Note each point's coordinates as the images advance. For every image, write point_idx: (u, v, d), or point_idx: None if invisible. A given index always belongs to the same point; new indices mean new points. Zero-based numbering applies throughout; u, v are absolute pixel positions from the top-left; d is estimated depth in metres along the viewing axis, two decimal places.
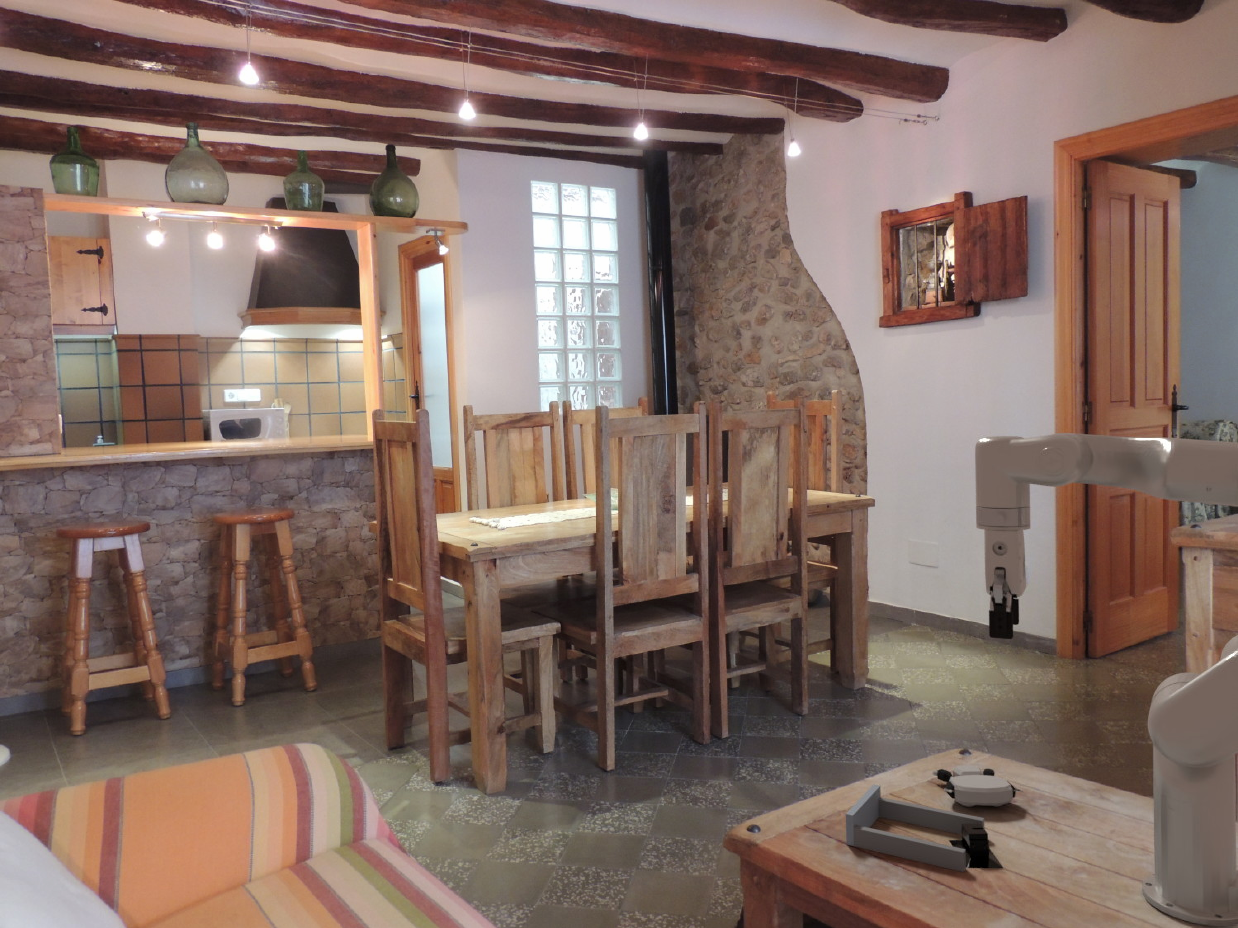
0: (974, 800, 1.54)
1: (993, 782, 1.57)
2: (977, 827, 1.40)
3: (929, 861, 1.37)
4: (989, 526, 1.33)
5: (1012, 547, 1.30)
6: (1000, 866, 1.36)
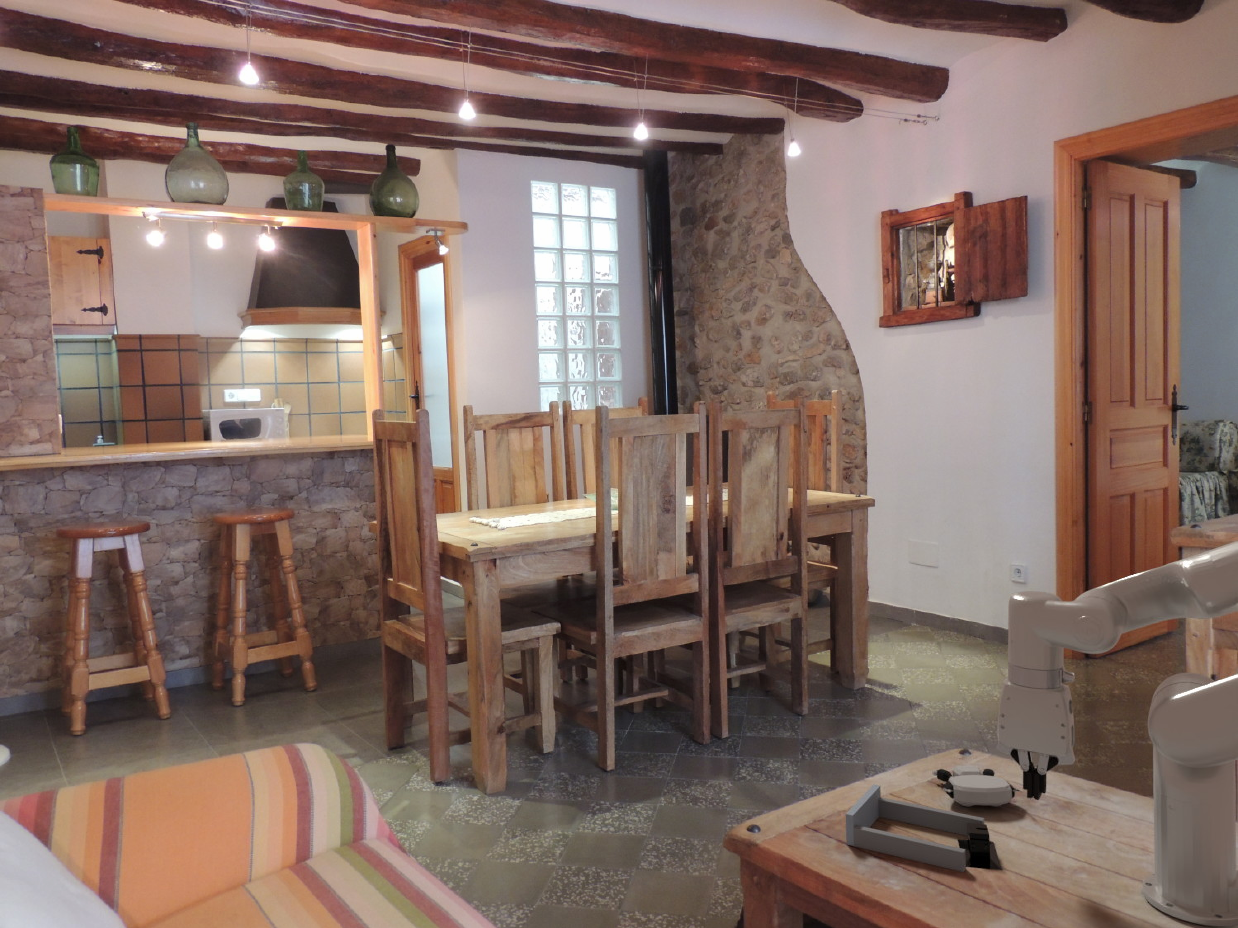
0: (973, 800, 1.54)
1: (992, 782, 1.57)
2: (981, 827, 1.40)
3: (929, 861, 1.37)
4: (1058, 687, 1.31)
5: (1071, 702, 1.33)
6: (999, 867, 1.35)
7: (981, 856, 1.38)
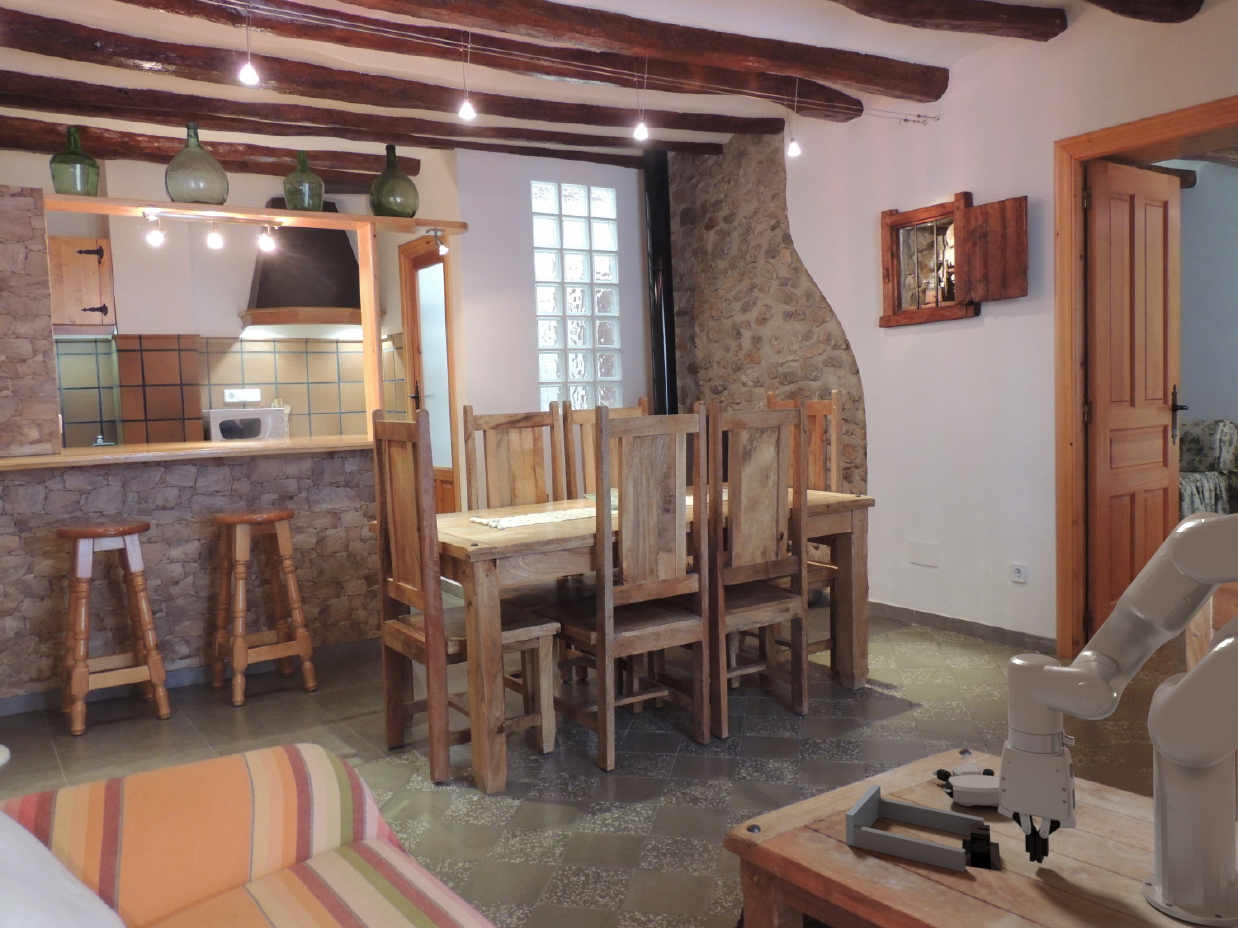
0: (973, 800, 1.54)
1: (992, 782, 1.57)
2: (983, 828, 1.40)
3: (929, 861, 1.37)
4: (1058, 751, 1.31)
5: (1072, 765, 1.33)
6: (997, 868, 1.35)
7: (981, 856, 1.38)
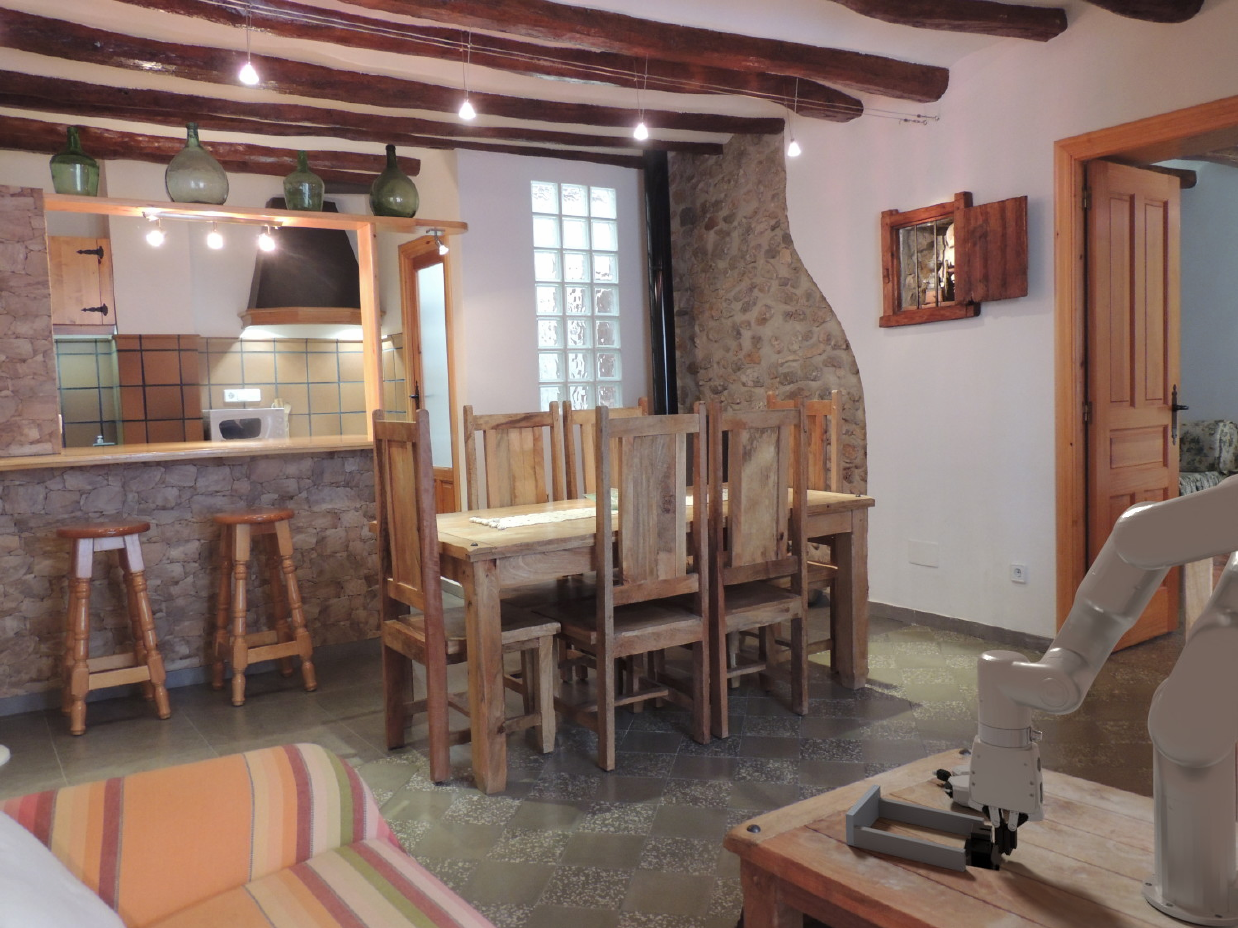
0: None
1: None
2: (985, 828, 1.40)
3: (929, 861, 1.37)
4: (1026, 746, 1.34)
5: (1040, 759, 1.36)
6: (996, 868, 1.35)
7: (982, 856, 1.38)
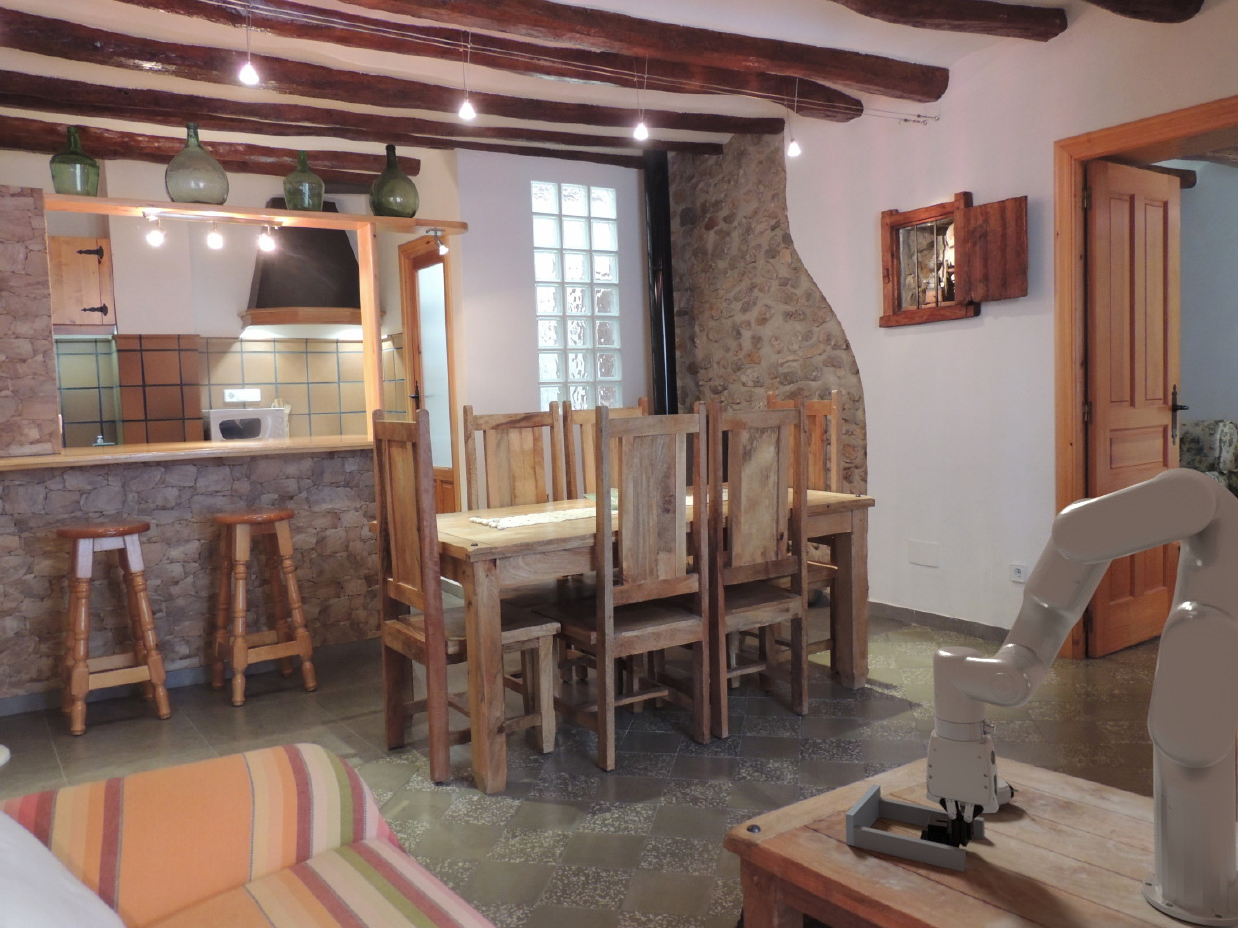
0: None
1: None
2: (942, 820, 1.43)
3: (929, 861, 1.37)
4: (980, 739, 1.37)
5: (994, 752, 1.39)
6: None
7: None
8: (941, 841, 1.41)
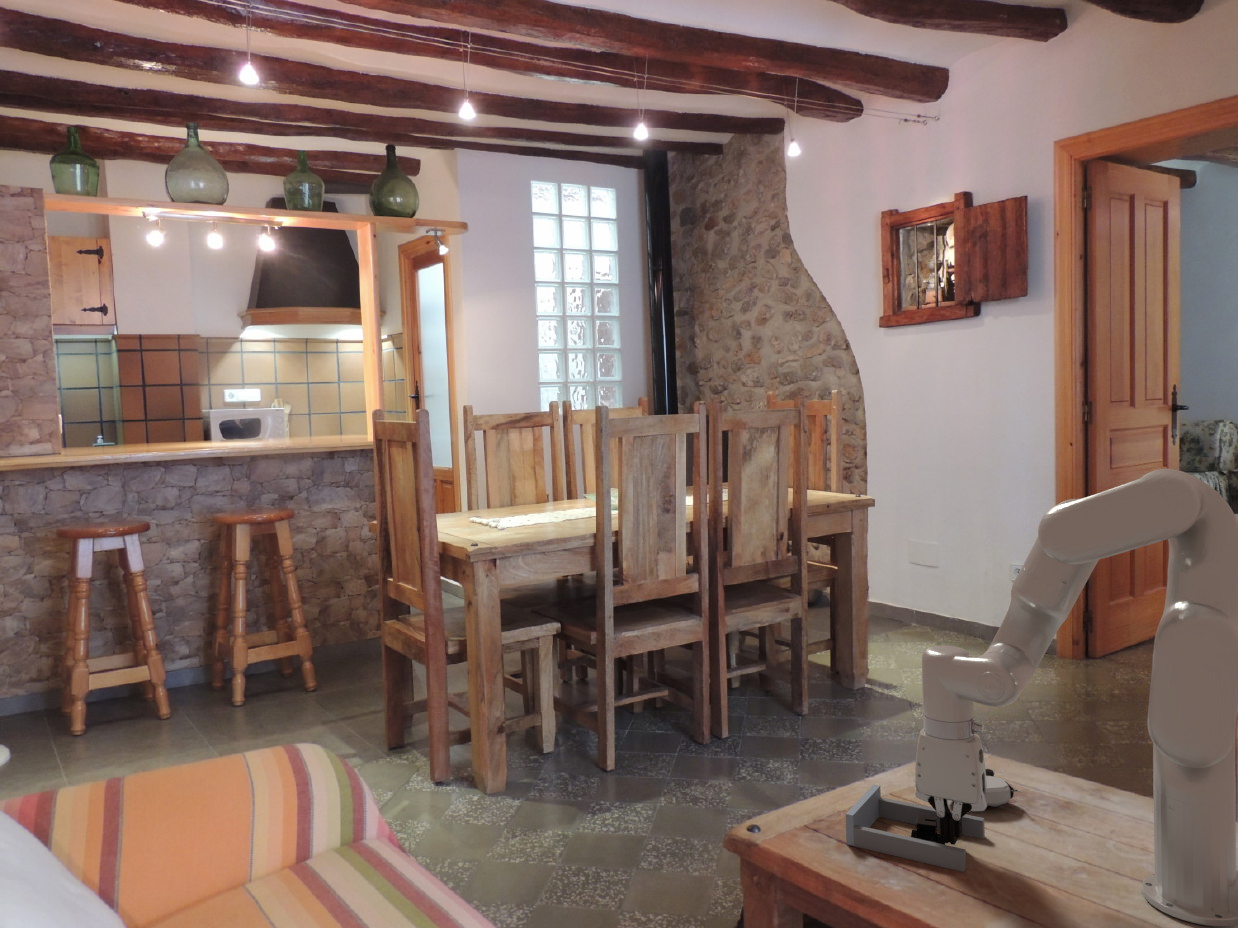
0: None
1: (991, 782, 1.57)
2: (930, 819, 1.44)
3: (929, 861, 1.37)
4: (968, 738, 1.38)
5: (982, 751, 1.40)
6: None
7: None
8: (930, 840, 1.42)
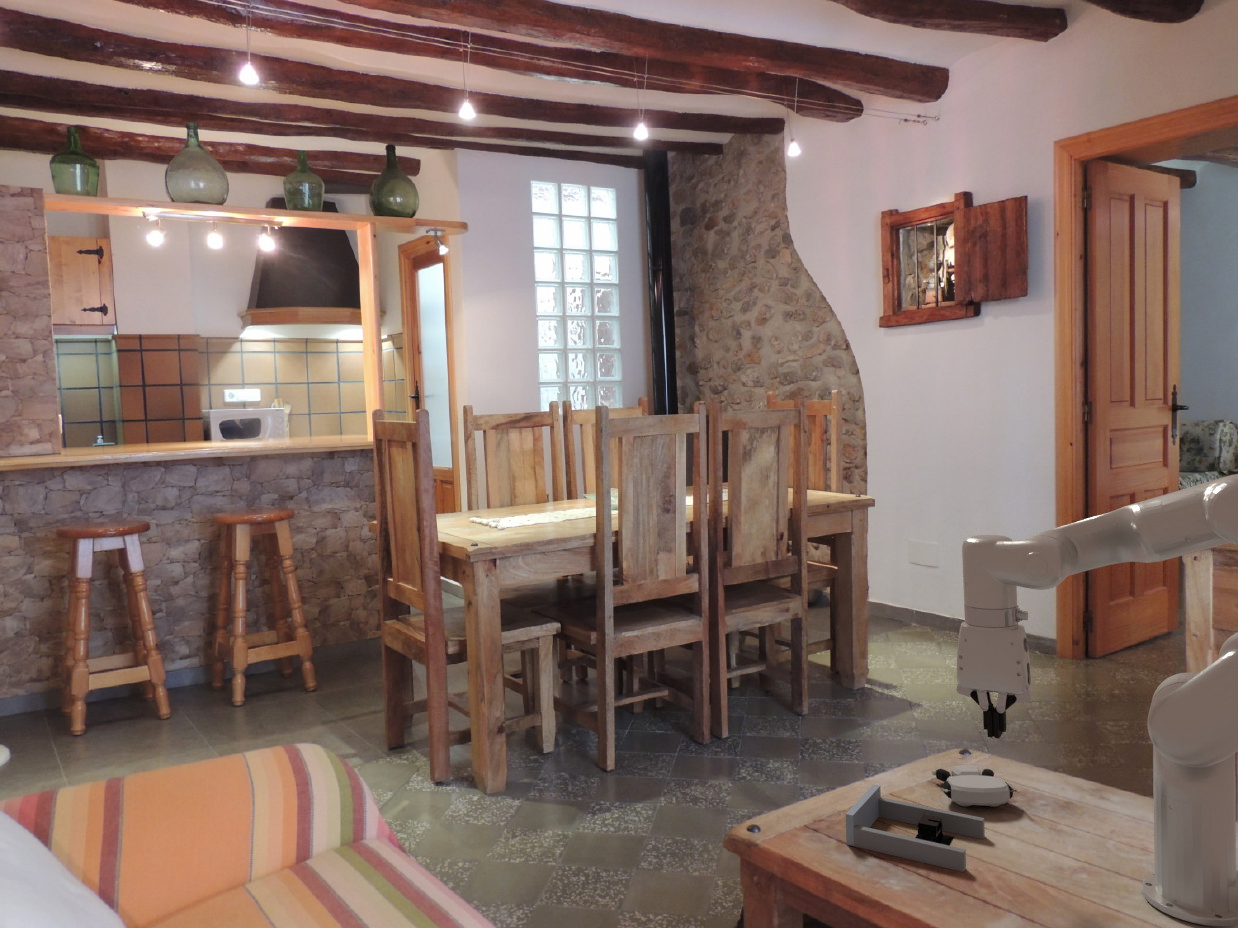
0: (970, 800, 1.54)
1: (990, 782, 1.57)
2: (934, 820, 1.44)
3: (929, 861, 1.37)
4: (1013, 626, 1.34)
5: (1026, 641, 1.36)
6: None
7: None
8: (931, 840, 1.42)
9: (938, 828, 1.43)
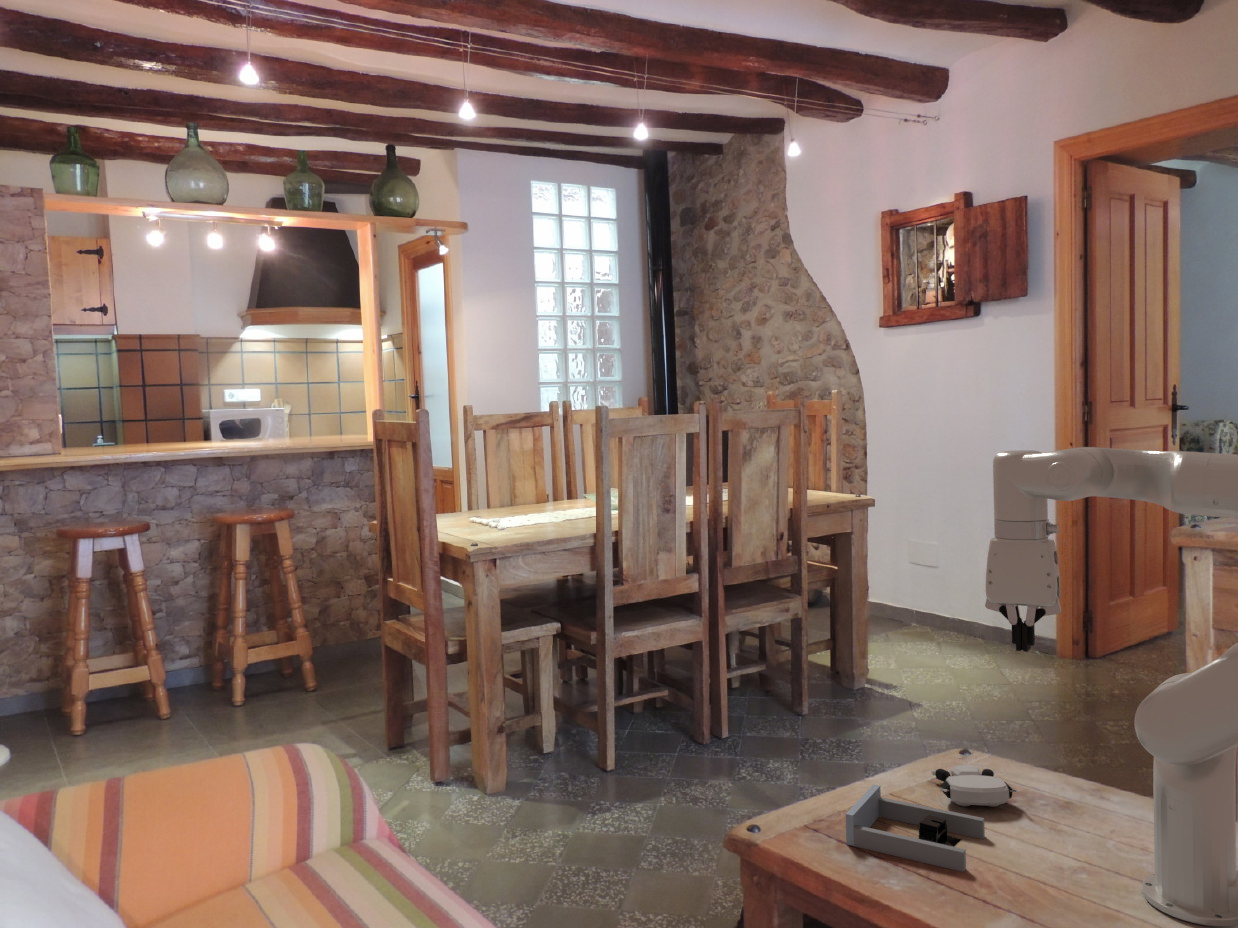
0: (969, 800, 1.54)
1: (990, 782, 1.57)
2: (937, 821, 1.43)
3: (929, 861, 1.37)
4: (1043, 538, 1.34)
5: (1056, 555, 1.36)
6: None
7: None
8: (931, 841, 1.41)
9: (941, 829, 1.43)
